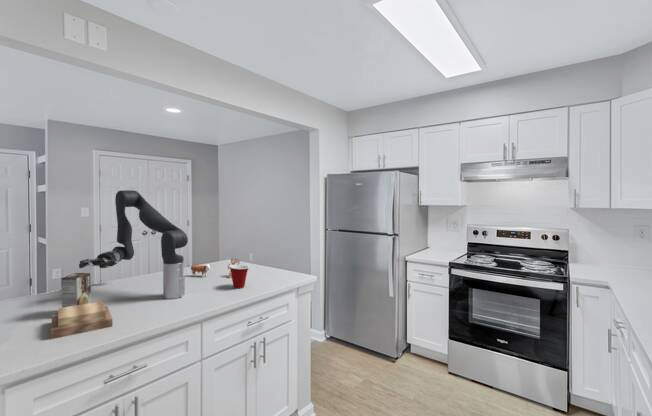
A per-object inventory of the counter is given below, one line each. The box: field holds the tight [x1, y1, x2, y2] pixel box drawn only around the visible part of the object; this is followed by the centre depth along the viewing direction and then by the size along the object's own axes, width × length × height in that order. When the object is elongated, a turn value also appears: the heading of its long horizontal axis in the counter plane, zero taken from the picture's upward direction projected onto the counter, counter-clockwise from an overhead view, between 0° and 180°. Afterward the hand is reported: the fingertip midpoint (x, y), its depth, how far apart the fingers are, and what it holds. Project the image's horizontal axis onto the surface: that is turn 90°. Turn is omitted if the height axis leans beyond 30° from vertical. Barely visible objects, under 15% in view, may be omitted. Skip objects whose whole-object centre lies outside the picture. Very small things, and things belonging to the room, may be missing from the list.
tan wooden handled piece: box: [225, 257, 240, 279], centre depth 202 cm, size 9×4×12 cm, turn 136°
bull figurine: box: [190, 263, 211, 278], centre depth 200 cm, size 4×13×8 cm, turn 79°
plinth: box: [50, 301, 113, 340], centre depth 124 cm, size 18×18×6 cm
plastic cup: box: [229, 264, 250, 289], centre depth 178 cm, size 11×11×12 cm
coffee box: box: [60, 272, 92, 308], centre depth 137 cm, size 9×6×16 cm
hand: (90, 266), depth 147 cm, fingers open, 8 cm apart
